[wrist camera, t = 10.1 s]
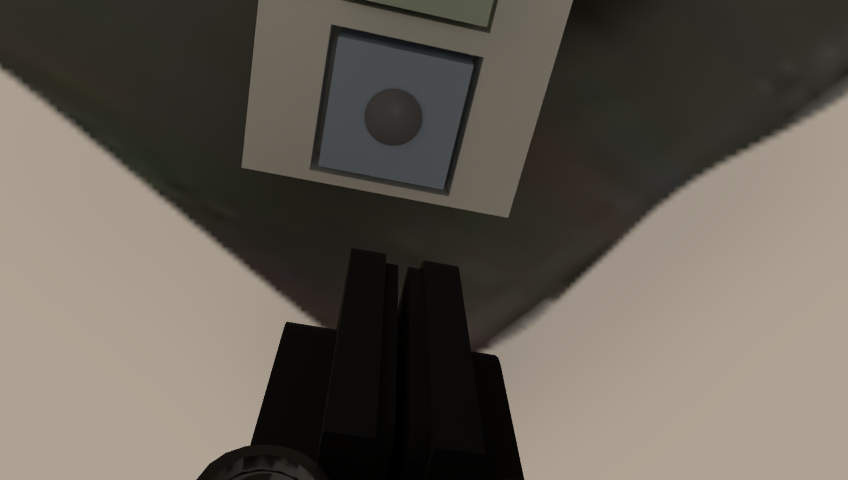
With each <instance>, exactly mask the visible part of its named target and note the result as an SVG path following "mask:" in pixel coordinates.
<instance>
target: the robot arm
mask: <svg viewBox="0 0 848 480" xmlns="http://www.w3.org/2000/svg"><path fill="white" fill-rule="evenodd" d="M397 310H398V312H397ZM197 480H524V477H523V472H522V467H521V463H520V457H519V452H518V447H517V442H516V438H515V433H514V428H513V424H512V419H511V414H510V409H509V404H508V399H507V394H506V389H505V384H504V379H503V375H502V370H501V365H500V362H499V359H498V357H497V356H495V355H490V354H484V353H478V352H472V351H471V349H470V342H469V335H468V328H467V321H466V314H465V307H464V301H463V294H462V287H461V280H460V273H459V268H458V267H457V266H452V265H446V264H440V263H435V262H429V261H423V262H422V265H421V267H420V269H416V268H411V267H409V268H408V270H407V273H406V277H405V281H404V286H403V290H402V294H401V299H400V303H399V307H398V265H393V264H388V263H386V254H384V253H378V252H372V251H366V250H361V249H355V248H352V249H351V254H350V259H349V265H348V270H347V275H346V281H345V286H344V292H343V297H342V302H341V308H340V313H339V319H338V324H337V329H336V330H335V329H328V328H322V327H316V326H310V325H304V324H297V323H290V322H286V324H285V327H284V330H283V333H282V337H281V340H280V344H279V347H278V351H277V354H276V358H275V361H274V365H273V368H272V371H271V375H270V379H269V382H268V385H267V389H266V392H265V396H264V399H263V403H262V407H261V410H260V413H259V417H258V420H257V424H256V427H255V431H254V434H253V438H252V441H251V445H250V446H245V447H242V448H239V449H236V450H233V451H231V452H227V453H225V454H224V455H222V456H221V457H219V458H218V459H216V460H215V461H213V462H212V463H210V464H209V465H208V466H207V468H206V469H205V470H204V471H203V472H202V474H201V475H200V476H199V477H198V479H197Z"/></svg>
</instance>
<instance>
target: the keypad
mask: <svg viewBox="0 0 848 480" xmlns="http://www.w3.org/2000/svg"><path fill="white" fill-rule="evenodd" d="M572 2H573V0H494V1H493V5H492V9H491V13H490V17H489V21H488V25H487V27H484V26H479V25H475V24H470V23H466V22H461V21H457V20H452V19H448V18H443V17H439V16H434V15H430V14H425V13H421V12H416V11H412V10H407V9H403V8H399V7H394V6H390V5H385V4H381V3H376V2H372V1H367V0H259V1H258V11H257V21H256V31H255V40H254V50H253V60H252V70H251V80H250V90H249V99H248V109H247V119H246V129H245V139H244V149H243V159H242V168H246V169H252V170H257V171H262V172H267V173H273V174H278V175H283V176H289V177H294V178H299V179H305V180H310V181H315V182H320V183H326V184H331V185H336V186H342V187H347V188H352V189H358V190H363V191H368V192H373V193H379V194H384V195H389V196H395V197H400V198H405V199H411V200H416V201H421V202H426V203H432V204H437V205H442V206H448V207H453V208H458V209H463V210H469V211H474V212H479V213H485V214H490V215H495V216H501V217H506V218H508V216H509V213H510V209H511V206H512V203H513V199H514V196H515V193H516V189H517V186H518V183H519V179H520V176H521V173H522V169H523V166H524V163H525V159H526V156H527V153H528V149H529V146H530V143H531V139H532V136H533V133H534V129H535V126H536V122H537V119H538V116H539V112H540V109H541V106H542V102H543V99H544V96H545V92H546V89H547V86H548V82H549V79H550V76H551V72H552V69H553V66H554V62H555V59H556V56H557V52H558V49H559V46H560V42H561V39H562V35H563V32H564V29H565V25H566V22H567V19H568V15H569V12H570V9H571V5H572ZM343 27H346V28H351V29H355V30H360V31H365V32H369V33H374V34H378V35H383V36H388V37H392V38H397V39H401V40H406V41H411V42H415V43H420V44H424V45H429V46H434V47H438V48H443V49H447V50H452V51H457V52H461V53H466V54H469V56H470V59H471V61H472V63H473V65H474V66H473V70H472V74H471V79H470V83H469V87H468V91H467V95H466V99H465V103H464V107H463V111H462V115H461V119H460V123H459V127H458V131H457V135H456V139H455V143H454V147H453V152H452V156H451V160H450V164H449V168H448V172H447V176H446V180H445V184H444V188H443V190H442V189H436V188H431V187H426V186H421V185H416V184H410V183H405V182H400V181H395V180H389V179H384V178H379V177H374V176H369V175H363V174H358V173H353V172H348V171H342V170H337V169H332V168H327V167H322V166H318V164H319V158H320V151H321V145H322V138H323V132H324V125H325V119H326V112H327V106H328V100H329V93H330V87H331V80H332V74H333V67H334V61H335V54H336V48H337V42H338V36H339V34H340V32H341V30H342V28H343Z"/></svg>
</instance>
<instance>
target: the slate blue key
mask: <svg viewBox="0 0 848 480" xmlns="http://www.w3.org/2000/svg"><path fill="white" fill-rule="evenodd" d="M473 66H474V65H473V63H472V61H471V59H470V56H469V54H466V53H461V52H457V51H452V50H447V49H443V48H438V47H434V46H429V45H424V44H420V43H415V42H411V41H406V40H401V39H397V38H392V37H388V36H383V35H378V34H374V33H369V32H365V31H360V30H355V29H351V28H346V27H343V28H342V30H341V32H340V34H339V36H338V42H337V48H336V54H335V61H334V67H333V74H332V80H331V87H330V93H329V100H328V106H327V112H326V119H325V125H324V132H323V138H322V145H321V151H320V158H319V164H318V166H322V167H327V168H332V169H337V170H342V171H348V172H353V173H358V174H363V175H369V176H374V177H379V178H384V179H389V180H395V181H400V182H405V183H410V184H416V185H421V186H426V187H431V188H436V189H442V190H443V188H444V184H445V180H446V176H447V172H448V168H449V164H450V160H451V156H452V152H453V147H454V143H455V139H456V135H457V131H458V127H459V123H460V119H461V115H462V111H463V107H464V103H465V99H466V95H467V91H468V87H469V83H470V79H471V74H472V70H473Z"/></svg>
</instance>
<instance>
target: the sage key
mask: <svg viewBox="0 0 848 480" xmlns="http://www.w3.org/2000/svg"><path fill="white" fill-rule="evenodd" d="M367 1H372V2H376V3H381V4H385V5H390V6H394V7H399V8H403V9H407V10H412V11H416V12H421V13H425V14H430V15H434V16H439V17H443V18H448V19H452V20H457V21H461V22H466V23H470V24H475V25H479V26H484V27H487V25H488V21H489V17H490V13H491V9H492V5H493V1H494V0H367Z"/></svg>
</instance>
